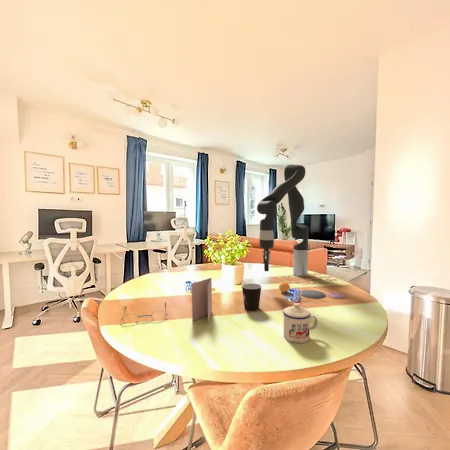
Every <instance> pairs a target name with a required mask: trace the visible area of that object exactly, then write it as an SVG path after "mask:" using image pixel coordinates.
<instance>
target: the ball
mask: <svg viewBox="0 0 450 450" xmlns="http://www.w3.org/2000/svg"><path fill="white" fill-rule="evenodd" d="M278 285H279V286H278V289H279V291H280V292H281V293H283V294H284V293H285V292H286V291H287V290H289V289H290V290H291V285H290V284H289V283H288V282H286V281H281V282H280V283H279V284H278ZM290 290H289V291H290ZM286 293H287V292H286ZM286 293H285V294H286Z"/></svg>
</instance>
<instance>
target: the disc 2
mask: <svg viewBox="0 0 450 450" xmlns="http://www.w3.org/2000/svg"><path fill="white" fill-rule="evenodd" d="M327 296H328V297H329V298H333V299H335V300H336V299H337V300H338V299H339V300H343V299H344V298H345V299H347V298H348V296H347V295H346V294H345V293H340V292H328V293H327Z"/></svg>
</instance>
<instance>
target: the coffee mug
mask: <svg viewBox="0 0 450 450" xmlns="http://www.w3.org/2000/svg"><path fill="white" fill-rule="evenodd" d="M241 289H242V299H243V306H244V310H245V311H249V312H254V311H258V310H259V309H260V302H261V293H262V285H261V284H259V283H253V282H251V283H249V282H248V283H244V284H241Z"/></svg>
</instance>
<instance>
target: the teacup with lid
mask: <svg viewBox="0 0 450 450" xmlns="http://www.w3.org/2000/svg"><path fill="white" fill-rule="evenodd" d="M282 314H283V337H284V339H285V340H286V341H289V342H292V343H294V344H304V343H306V342H309V340H310V338H311V334H310V333H311V331H313V330H315V329H316V328H317V327H318V324H319V320H318V318H317V317H316V316H315V315H313V314H311V312H310V310H308V309H307V308H305V307H302V306H300V303H298V302H295V303H293V305H291V306H287V307H285V308H284V309H283V311H282ZM311 319H314V324H313V325H312V326H311V325H310V324H311V321H310V320H311Z"/></svg>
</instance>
